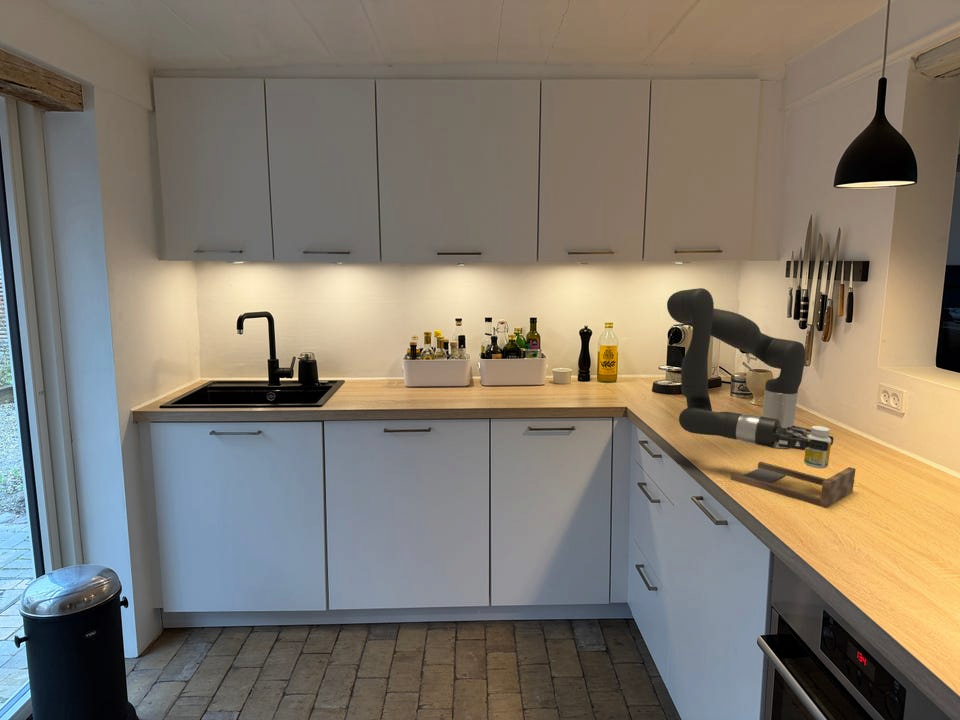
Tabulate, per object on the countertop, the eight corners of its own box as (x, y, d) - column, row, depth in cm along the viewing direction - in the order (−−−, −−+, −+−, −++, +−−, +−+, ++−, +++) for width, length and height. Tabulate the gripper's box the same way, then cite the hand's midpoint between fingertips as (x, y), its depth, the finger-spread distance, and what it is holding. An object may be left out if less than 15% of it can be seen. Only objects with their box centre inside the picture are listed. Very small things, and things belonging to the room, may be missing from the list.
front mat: (759, 469, 171) (759, 467, 171) (785, 476, 166) (785, 474, 166) (738, 478, 163) (739, 476, 163) (765, 485, 158) (765, 484, 158)
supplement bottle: (812, 469, 152) (817, 431, 150) (799, 461, 157) (803, 425, 155) (832, 468, 152) (837, 431, 150) (819, 461, 157) (823, 424, 156)
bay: (760, 466, 174) (762, 445, 173) (852, 491, 156) (855, 468, 155) (730, 479, 163) (732, 457, 162) (826, 507, 145) (829, 483, 144)
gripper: (751, 422, 156) (826, 435, 146) (766, 411, 167) (837, 423, 157) (748, 450, 157) (822, 466, 147) (764, 438, 169) (834, 451, 158)
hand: (830, 443), depth 152 cm, fingers closed on supplement bottle, 5 cm apart
